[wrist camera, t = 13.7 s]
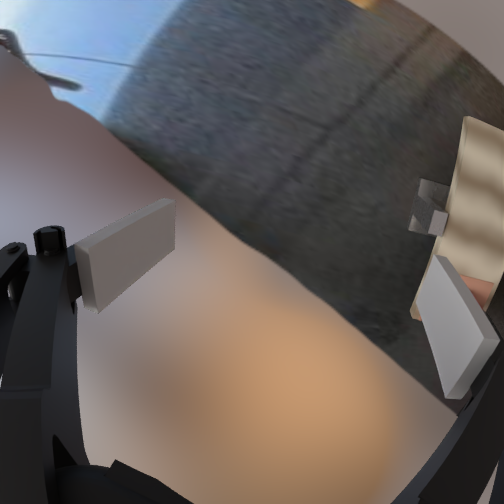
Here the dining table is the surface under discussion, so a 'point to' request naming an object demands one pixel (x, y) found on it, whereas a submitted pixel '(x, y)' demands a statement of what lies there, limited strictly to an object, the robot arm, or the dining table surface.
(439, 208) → the pivot stand
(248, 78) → the dining table surface
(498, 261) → the balance beam
